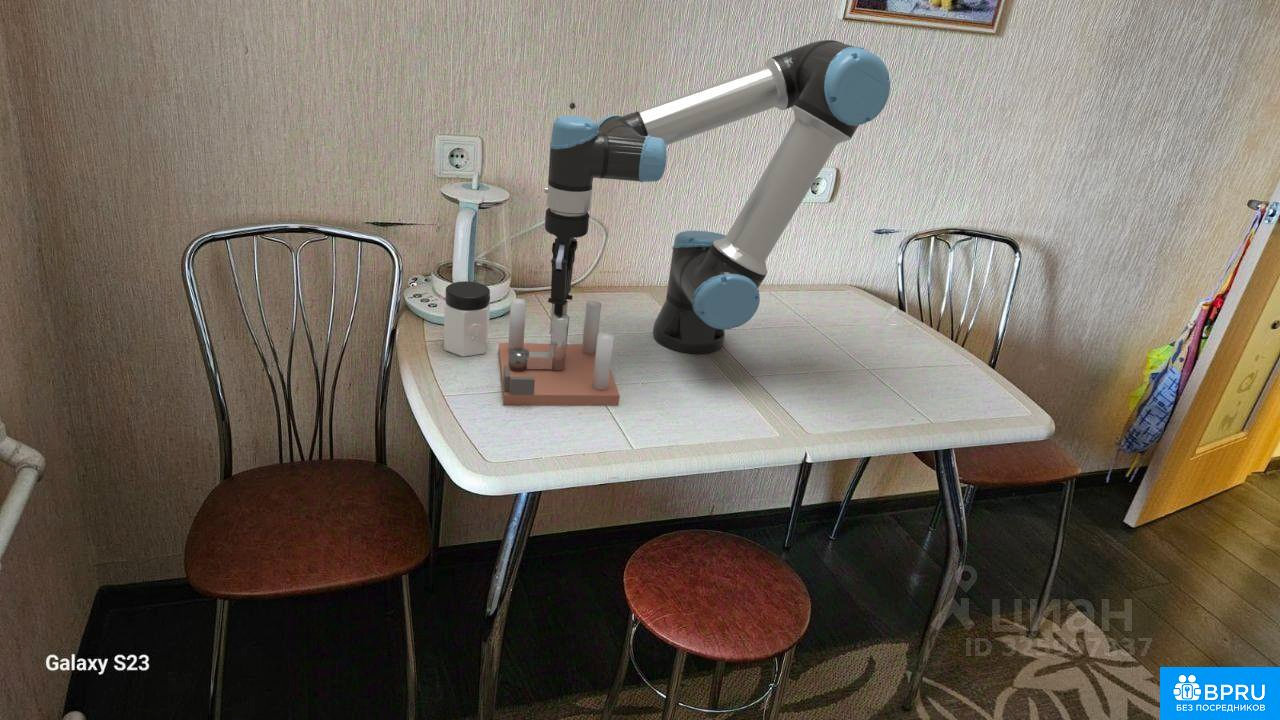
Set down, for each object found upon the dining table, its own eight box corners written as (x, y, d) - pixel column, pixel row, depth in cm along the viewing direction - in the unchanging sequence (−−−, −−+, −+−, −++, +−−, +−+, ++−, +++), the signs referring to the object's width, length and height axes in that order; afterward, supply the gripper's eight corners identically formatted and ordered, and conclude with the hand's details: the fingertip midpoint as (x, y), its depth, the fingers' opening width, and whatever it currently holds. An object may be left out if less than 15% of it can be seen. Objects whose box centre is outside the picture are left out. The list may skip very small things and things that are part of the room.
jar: (452, 359, 151) (453, 300, 146) (436, 341, 157) (436, 283, 152) (496, 352, 156) (499, 294, 151) (480, 335, 162) (481, 278, 157)
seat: (600, 353, 161) (607, 297, 155) (618, 405, 144) (625, 344, 138) (498, 352, 156) (501, 294, 151) (503, 405, 139) (506, 342, 134)
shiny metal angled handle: (508, 370, 145) (511, 319, 141) (507, 361, 148) (510, 311, 144) (566, 371, 148) (570, 321, 143) (563, 362, 151) (568, 312, 146)
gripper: (552, 197, 146) (543, 316, 156) (539, 217, 134) (530, 345, 145) (594, 202, 146) (582, 322, 156) (584, 224, 134) (572, 351, 145)
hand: (557, 333), depth 150 cm, fingers closed
